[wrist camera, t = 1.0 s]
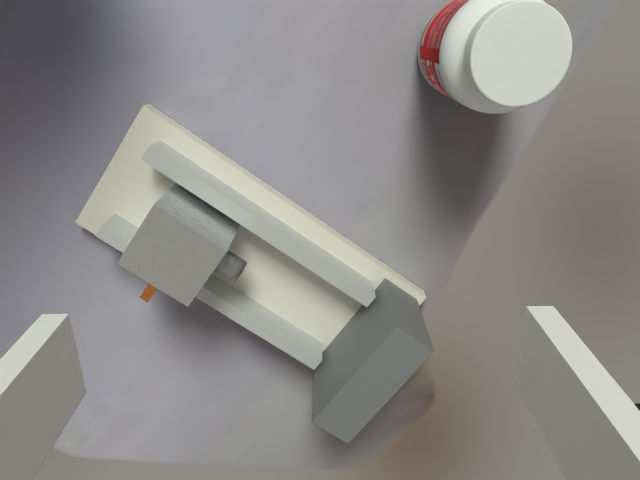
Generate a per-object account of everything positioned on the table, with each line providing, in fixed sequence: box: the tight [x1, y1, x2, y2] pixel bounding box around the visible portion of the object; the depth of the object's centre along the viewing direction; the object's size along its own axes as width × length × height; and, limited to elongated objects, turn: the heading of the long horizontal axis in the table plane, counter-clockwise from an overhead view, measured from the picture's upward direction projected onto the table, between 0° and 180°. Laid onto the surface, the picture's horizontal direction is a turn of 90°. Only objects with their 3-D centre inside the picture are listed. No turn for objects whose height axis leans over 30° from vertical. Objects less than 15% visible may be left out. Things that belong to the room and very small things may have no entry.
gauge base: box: [75, 104, 434, 444], centre depth 36 cm, size 24×10×8 cm, turn 54°
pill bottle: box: [418, 0, 572, 114], centre depth 30 cm, size 6×6×11 cm
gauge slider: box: [117, 183, 247, 307], centre depth 35 cm, size 7×7×6 cm
